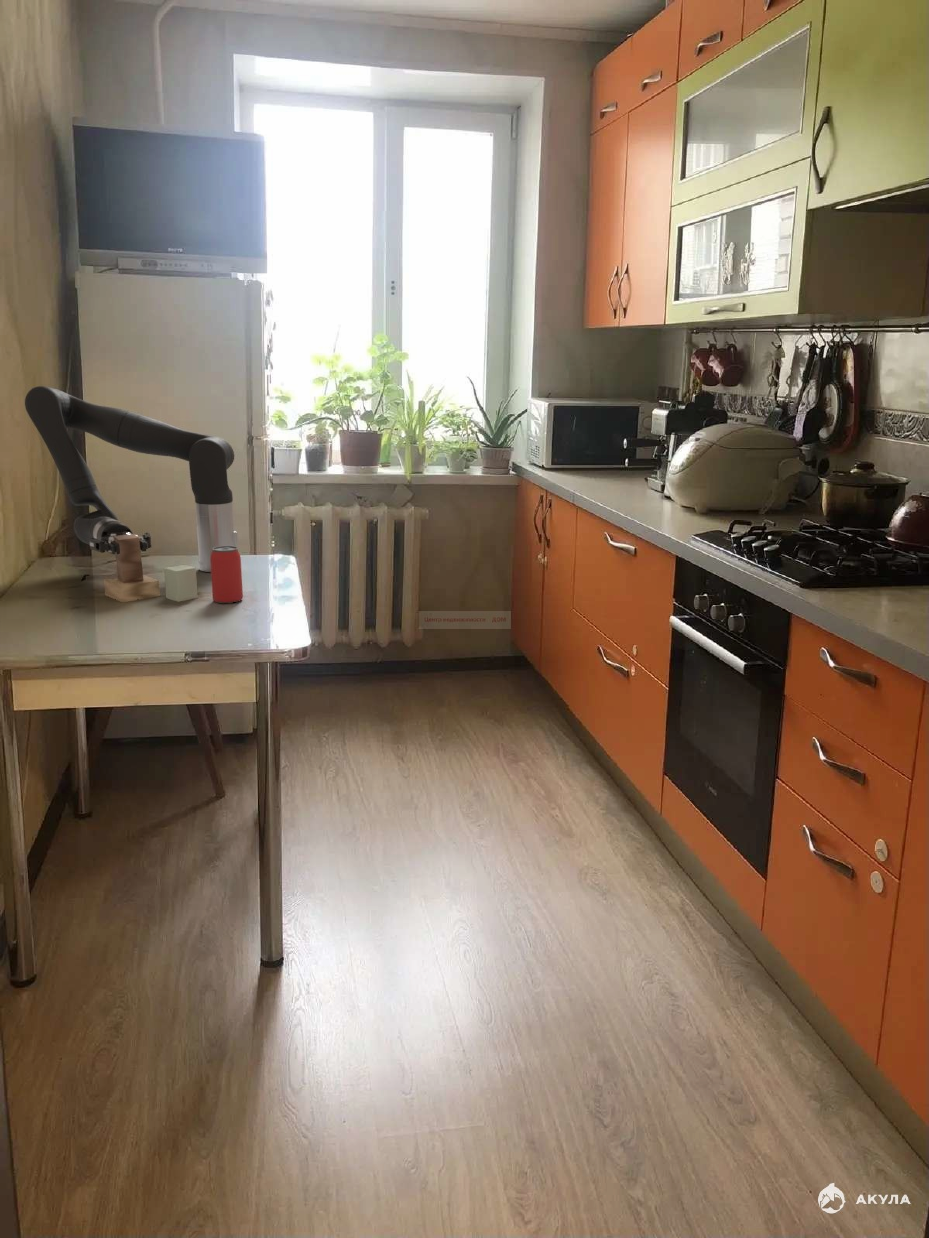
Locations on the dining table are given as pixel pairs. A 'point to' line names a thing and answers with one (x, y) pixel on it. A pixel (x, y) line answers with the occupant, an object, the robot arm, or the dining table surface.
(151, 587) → the oak base block
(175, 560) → the dining table surface
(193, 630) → the dining table surface
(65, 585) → the dining table surface
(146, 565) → the dining table surface
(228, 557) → the beer can
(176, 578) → the sage green block
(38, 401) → the robot arm
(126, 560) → the walnut pillar
